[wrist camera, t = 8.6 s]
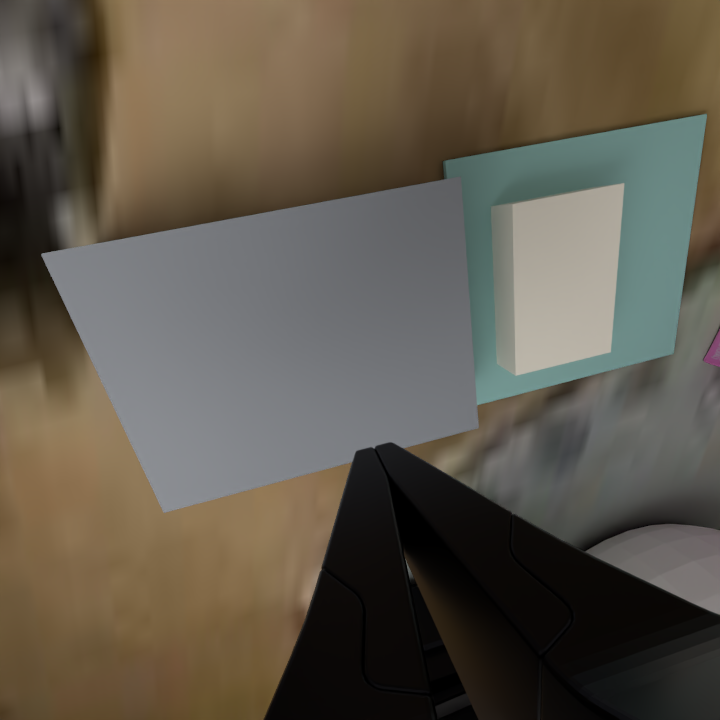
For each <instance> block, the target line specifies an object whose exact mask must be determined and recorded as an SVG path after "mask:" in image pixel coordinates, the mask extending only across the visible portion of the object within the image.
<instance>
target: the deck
mask: <svg viewBox="0 0 720 720" xmlns="http://www.w3.org/2000/svg"><path fill="white" fill-rule="evenodd" d="M41 255H42V257H43V259H44V261H45V264H46V266H47V268H48V270H49V272H50V274H51V276H52V278H53V280H54V283H55V285H56V287H57V289H58V291H59V293H60V295H61V297H62V299H63V301H64V304H65V306H66V308H67V310H68V312H69V314H70V316H71V318H72V320H73V323H74V325H75V327H76V329H77V331H78V333H79V335H80V337H81V339H82V341H83V344H84V346H85V348H86V350H87V352H88V354H89V356H90V358H91V360H92V363H93V365H94V367H95V369H96V371H97V373H98V375H99V377H100V379H101V381H102V384H103V386H104V388H105V390H106V392H107V394H108V396H109V398H110V400H111V403H112V405H113V407H114V409H115V411H116V413H117V415H118V417H119V419H120V421H121V424H122V426H123V428H124V430H125V432H126V434H127V436H128V438H129V440H130V443H131V445H132V447H133V449H134V451H135V453H136V455H137V457H138V459H139V461H140V464H141V466H142V468H143V470H144V472H145V474H146V476H147V478H148V480H149V483H150V485H151V487H152V489H153V491H154V493H155V495H156V497H157V499H158V501H159V504H160V506H161V508H162V510H163V512H164V513H165V512H169V511H172V510H176V509H180V508H184V507H187V506H191V505H195V504H198V503H202V502H206V501H209V500H213V499H217V498H221V497H224V496H228V495H232V494H235V493H239V492H243V491H247V490H250V489H254V488H258V487H261V486H265V485H269V484H273V483H276V482H280V481H284V480H287V479H291V478H295V477H298V476H302V475H306V474H310V473H313V472H317V471H321V470H324V469H328V468H332V467H336V466H339V465H343V464H347V463H350V462H352V461H353V458H354V454H355V452H356V451H357V450H361V449H365V448H369V447H373V448H375V446H377V445H380V444H384V443H388V442H393V443H395V444H396V445H398V446H400V447H402V448H406V447H410V446H413V445H417V444H421V443H425V442H428V441H432V440H436V439H439V438H443V437H447V436H451V435H454V434H458V433H462V432H465V431H469V430H473V429H476V428H479V426H478V412H477V398H476V383H475V369H474V355H473V341H472V327H471V312H470V298H469V284H468V270H467V255H466V241H465V227H464V213H463V199H462V184H461V176H460V177H455V178H450V179H444V180H439V181H433V182H428V183H423V184H417V185H412V186H406V187H401V188H395V189H390V190H385V191H379V192H374V193H368V194H363V195H357V196H352V197H347V198H341V199H336V200H330V201H325V202H320V203H314V204H309V205H303V206H298V207H292V208H287V209H282V210H276V211H271V212H265V213H260V214H254V215H249V216H244V217H238V218H233V219H227V220H222V221H217V222H211V223H206V224H200V225H195V226H189V227H184V228H179V229H173V230H168V231H162V232H157V233H151V234H146V235H141V236H135V237H130V238H124V239H119V240H114V241H108V242H103V243H97V244H92V245H86V246H81V247H76V248H70V249H65V250H59V251H54V252H48V253H43V254H41Z"/></svg>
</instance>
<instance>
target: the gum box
mask: <svg viewBox="0 0 720 720" xmlns="http://www.w3.org/2000/svg"><path fill="white" fill-rule="evenodd" d="M704 362H706V363H709V364H712V365H715V366H718V367H720V329H719V331H718V334H717V335H716V337H715V339H714V341H713V343H712V345H711V347H710V349H709V351H708V353H707V354H706V356H705V358H704Z"/></svg>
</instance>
